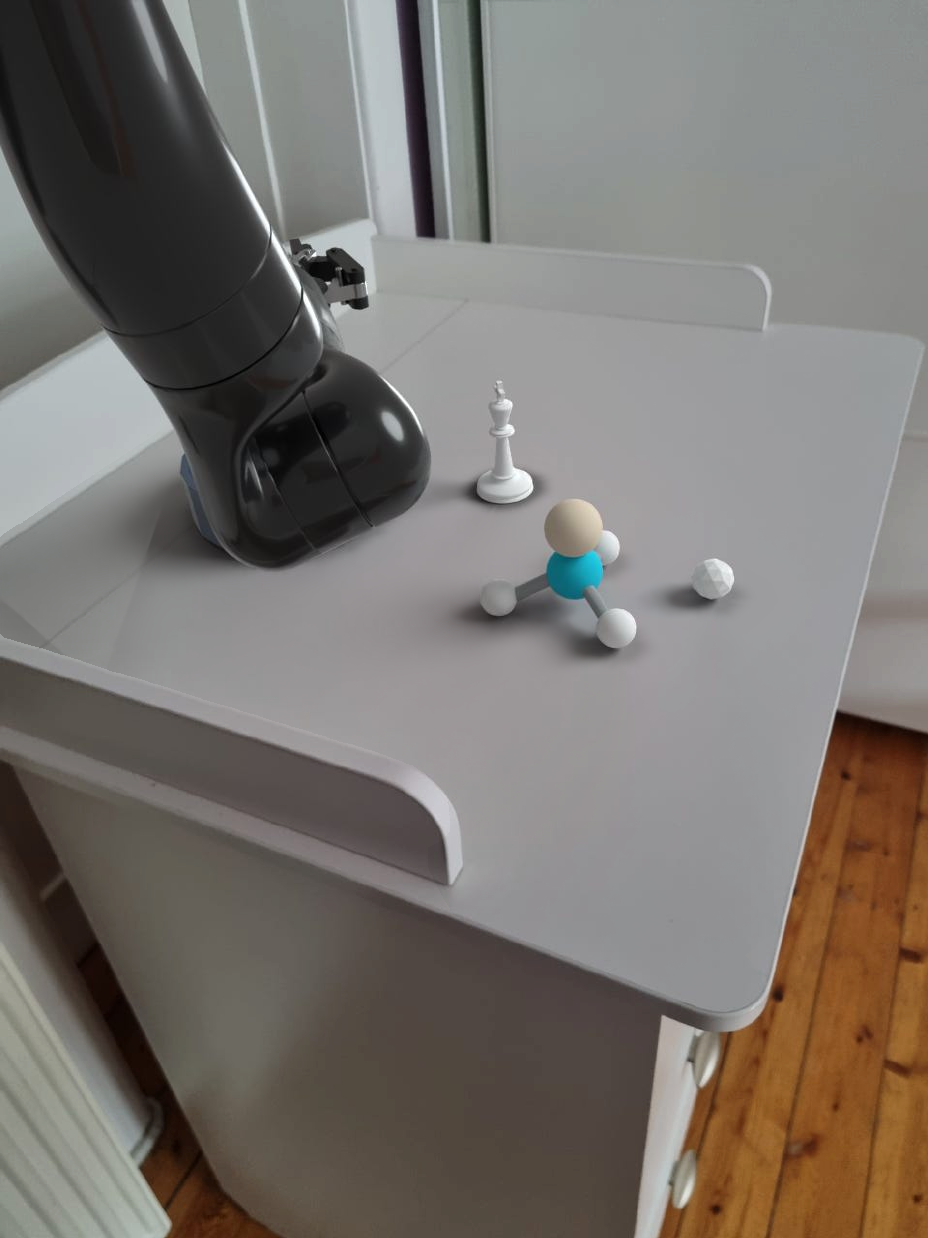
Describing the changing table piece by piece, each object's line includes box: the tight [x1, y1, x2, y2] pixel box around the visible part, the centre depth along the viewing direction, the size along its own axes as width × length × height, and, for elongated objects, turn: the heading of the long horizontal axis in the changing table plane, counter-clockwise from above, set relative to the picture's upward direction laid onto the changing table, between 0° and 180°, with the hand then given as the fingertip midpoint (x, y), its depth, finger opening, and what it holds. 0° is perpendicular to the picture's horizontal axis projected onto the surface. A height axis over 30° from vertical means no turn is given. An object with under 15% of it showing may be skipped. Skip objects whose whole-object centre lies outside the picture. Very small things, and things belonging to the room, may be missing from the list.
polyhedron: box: [691, 557, 735, 600], centre depth 68 cm, size 3×3×3 cm
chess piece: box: [476, 380, 534, 504], centre depth 79 cm, size 5×5×10 cm
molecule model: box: [479, 498, 637, 649], centre depth 66 cm, size 12×12×9 cm
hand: (250, 260), depth 68 cm, fingers closed on lollipop, 6 cm apart
